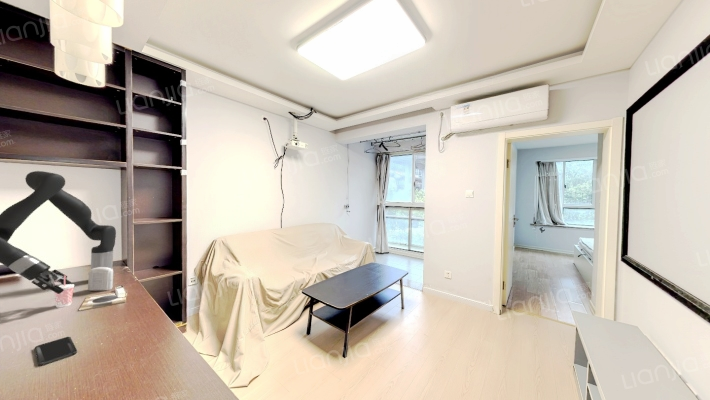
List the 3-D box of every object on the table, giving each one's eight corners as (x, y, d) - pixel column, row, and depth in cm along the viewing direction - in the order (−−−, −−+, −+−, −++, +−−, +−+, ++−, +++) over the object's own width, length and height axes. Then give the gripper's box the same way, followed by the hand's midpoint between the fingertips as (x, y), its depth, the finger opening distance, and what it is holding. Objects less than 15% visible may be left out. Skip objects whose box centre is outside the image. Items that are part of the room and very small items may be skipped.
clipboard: (87, 297, 121) (87, 295, 121) (127, 291, 131) (127, 288, 131) (78, 311, 108) (78, 308, 108) (124, 302, 117) (125, 300, 117)
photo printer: (114, 288, 135) (115, 266, 135) (107, 290, 131) (108, 268, 131) (93, 288, 133) (94, 266, 133) (86, 291, 129) (86, 268, 129)
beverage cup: (59, 309, 109) (60, 278, 109) (49, 307, 110) (50, 276, 110) (77, 303, 115) (78, 274, 115) (67, 301, 116) (68, 273, 116)
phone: (38, 364, 73) (34, 346, 81) (38, 368, 73) (34, 349, 81) (78, 351, 80) (70, 335, 88) (77, 354, 80) (70, 338, 88)
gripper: (28, 264, 102) (67, 287, 108) (48, 257, 115) (82, 278, 120) (8, 278, 100) (49, 301, 105) (31, 269, 112) (66, 290, 118)
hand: (66, 288), depth 113 cm, fingers open, 8 cm apart
